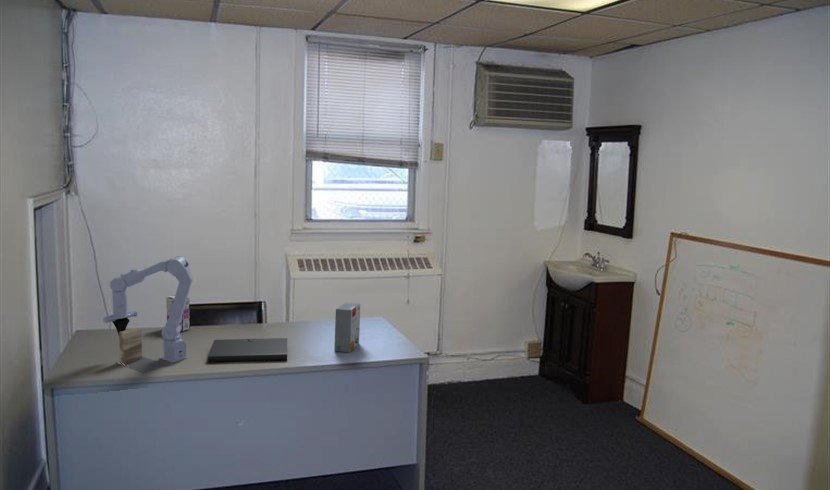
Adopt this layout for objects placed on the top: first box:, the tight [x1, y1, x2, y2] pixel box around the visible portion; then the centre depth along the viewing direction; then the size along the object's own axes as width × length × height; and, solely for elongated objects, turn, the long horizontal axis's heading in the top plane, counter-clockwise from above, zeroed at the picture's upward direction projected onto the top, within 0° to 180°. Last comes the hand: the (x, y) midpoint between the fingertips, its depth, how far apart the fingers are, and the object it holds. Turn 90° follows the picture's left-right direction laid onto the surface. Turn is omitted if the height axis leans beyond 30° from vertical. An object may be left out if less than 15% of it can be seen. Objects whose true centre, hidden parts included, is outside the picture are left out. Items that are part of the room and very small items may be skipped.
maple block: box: [118, 327, 143, 364], centre depth 276 cm, size 4×8×13 cm, turn 147°
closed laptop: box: [207, 337, 288, 364], centre depth 292 cm, size 33×4×24 cm
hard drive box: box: [333, 301, 361, 353], centre depth 305 cm, size 16×8×20 cm, turn 168°
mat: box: [120, 355, 169, 374], centre depth 274 cm, size 20×12×1 cm, turn 57°
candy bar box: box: [166, 294, 191, 332], centre depth 325 cm, size 11×5×16 cm, turn 62°
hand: (121, 335), depth 279 cm, fingers closed
